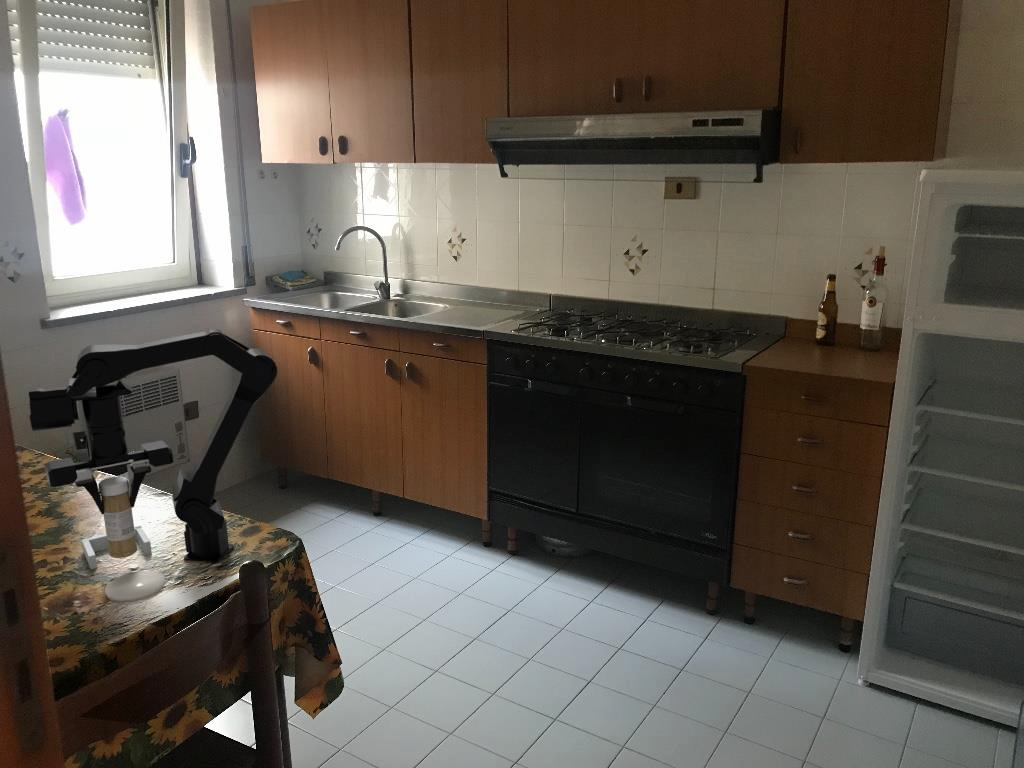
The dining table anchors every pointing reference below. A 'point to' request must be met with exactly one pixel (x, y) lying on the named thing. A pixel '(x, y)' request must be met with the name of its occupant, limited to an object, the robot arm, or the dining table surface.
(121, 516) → the sprinkles bottle
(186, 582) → the dining table surface
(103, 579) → the dining table surface
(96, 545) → the grey archway
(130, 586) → the coaster
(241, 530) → the dining table surface
